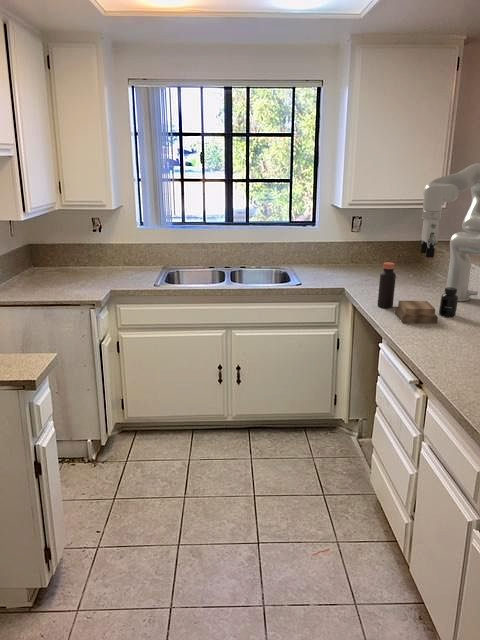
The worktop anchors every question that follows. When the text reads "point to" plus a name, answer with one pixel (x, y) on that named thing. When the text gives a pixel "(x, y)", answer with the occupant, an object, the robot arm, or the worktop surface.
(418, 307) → the stepped wooden plinth
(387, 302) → the vinegar
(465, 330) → the worktop surface
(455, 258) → the robot arm
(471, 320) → the worktop surface
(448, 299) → the supplement bottle
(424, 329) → the worktop surface
